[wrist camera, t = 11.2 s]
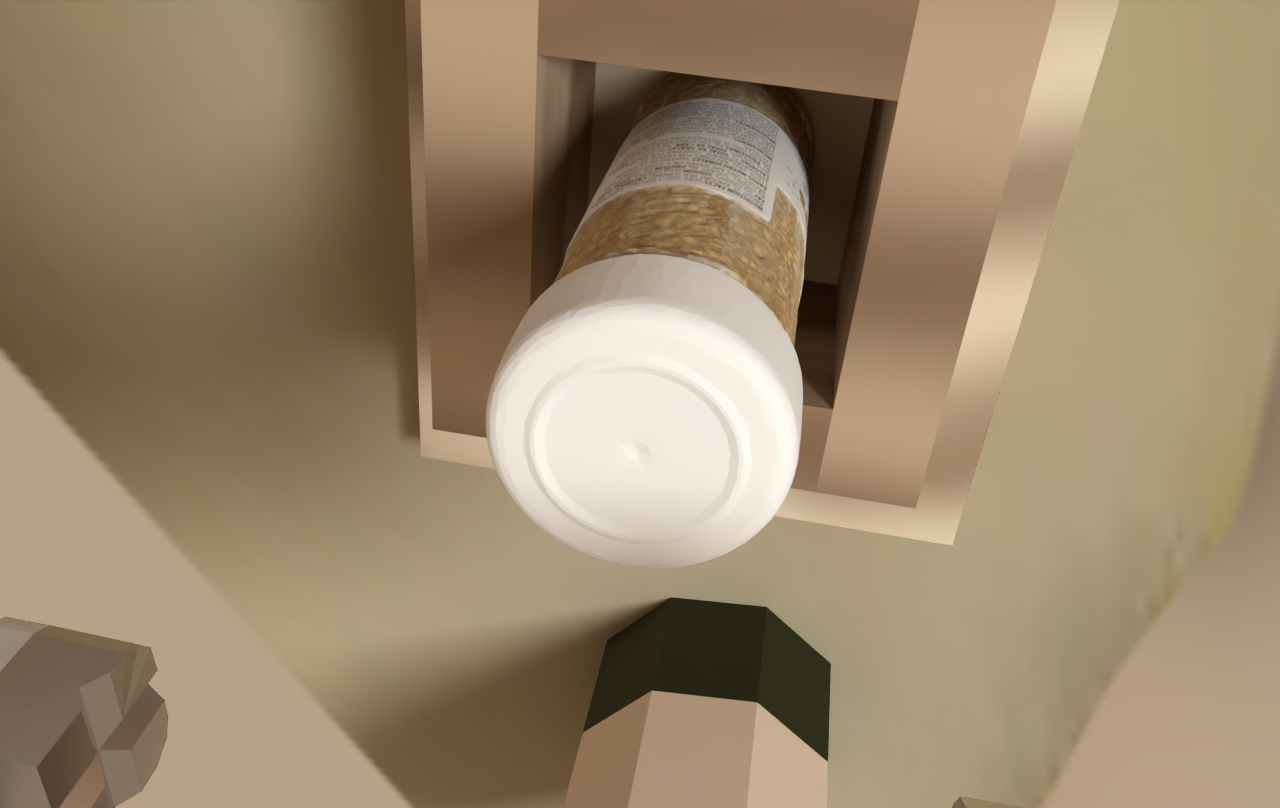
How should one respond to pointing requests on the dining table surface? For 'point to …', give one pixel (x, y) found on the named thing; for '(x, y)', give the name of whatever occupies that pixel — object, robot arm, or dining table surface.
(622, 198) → the sprinkles bottle
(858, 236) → the holder board
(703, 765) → the wine bottle
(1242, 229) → the dining table surface
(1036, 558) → the dining table surface
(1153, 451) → the dining table surface
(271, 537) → the dining table surface
